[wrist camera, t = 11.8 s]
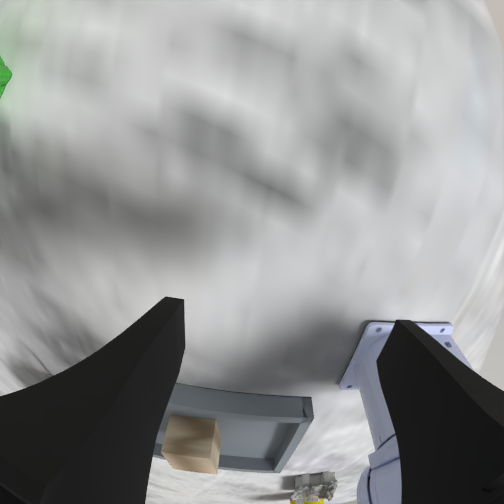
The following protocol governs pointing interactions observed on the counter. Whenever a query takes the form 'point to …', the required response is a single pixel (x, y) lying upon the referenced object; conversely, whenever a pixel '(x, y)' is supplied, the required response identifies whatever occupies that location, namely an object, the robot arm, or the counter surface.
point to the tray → (244, 425)
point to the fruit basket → (3, 76)
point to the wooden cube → (192, 444)
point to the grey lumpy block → (315, 486)
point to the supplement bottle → (307, 500)
